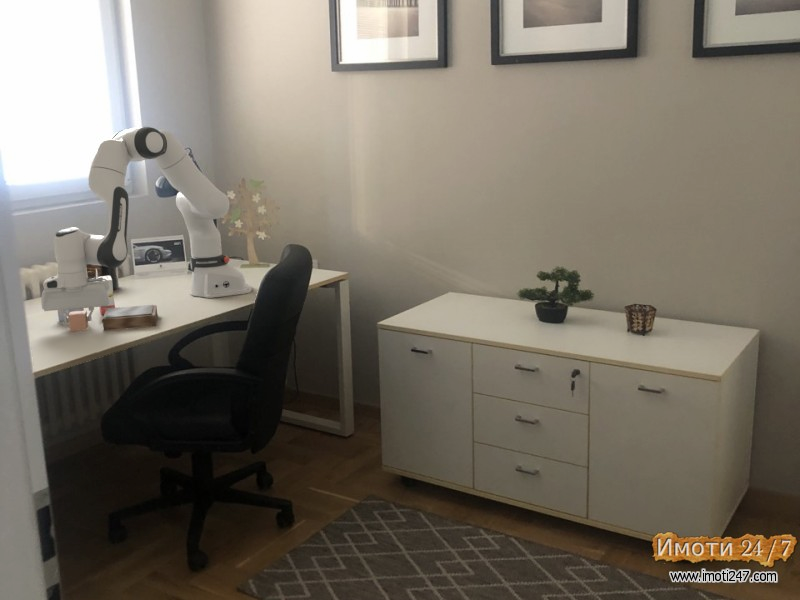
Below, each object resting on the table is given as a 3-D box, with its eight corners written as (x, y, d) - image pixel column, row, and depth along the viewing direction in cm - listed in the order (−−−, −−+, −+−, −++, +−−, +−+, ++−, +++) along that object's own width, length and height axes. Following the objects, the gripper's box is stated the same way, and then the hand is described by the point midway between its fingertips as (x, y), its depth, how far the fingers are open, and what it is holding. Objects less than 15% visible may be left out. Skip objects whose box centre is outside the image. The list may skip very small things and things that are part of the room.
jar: (109, 293, 319) (104, 254, 315) (80, 292, 321) (75, 253, 317) (124, 286, 330) (119, 248, 327) (96, 285, 332) (92, 248, 329)
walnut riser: (157, 315, 284) (156, 303, 283) (155, 326, 271) (154, 314, 270) (107, 319, 281) (106, 307, 280) (103, 330, 267) (102, 318, 266)
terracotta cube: (88, 325, 274) (86, 310, 273) (86, 329, 269) (84, 314, 268) (72, 326, 273) (70, 311, 272) (70, 330, 268) (68, 315, 267)
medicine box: (73, 315, 288) (70, 290, 286) (84, 315, 287) (81, 290, 285) (58, 321, 281) (55, 295, 278) (69, 321, 279) (66, 296, 277)
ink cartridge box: (116, 313, 289) (111, 271, 285) (101, 315, 287) (96, 272, 283) (114, 307, 296) (109, 266, 293) (99, 309, 295) (94, 268, 291)
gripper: (108, 275, 273) (113, 316, 276) (40, 280, 268) (46, 322, 271) (106, 279, 267) (111, 321, 270) (37, 284, 262) (43, 327, 266)
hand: (78, 321), depth 271 cm, fingers closed on terracotta cube, 5 cm apart
